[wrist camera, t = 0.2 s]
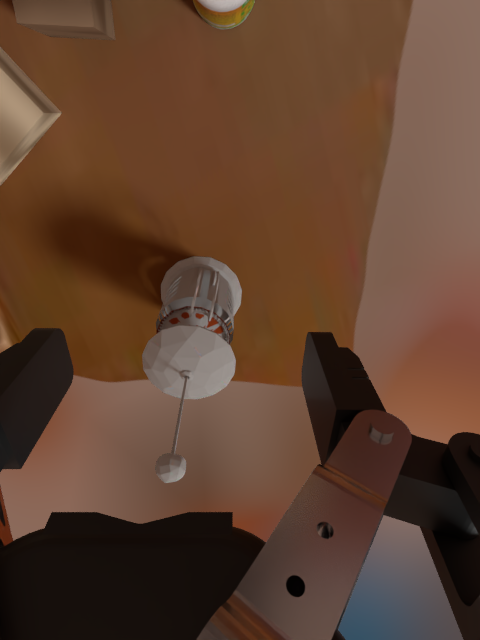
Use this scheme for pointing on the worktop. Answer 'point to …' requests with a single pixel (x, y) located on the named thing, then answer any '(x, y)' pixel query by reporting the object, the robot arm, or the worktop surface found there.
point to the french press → (192, 340)
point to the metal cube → (67, 18)
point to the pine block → (20, 115)
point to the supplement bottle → (224, 12)
